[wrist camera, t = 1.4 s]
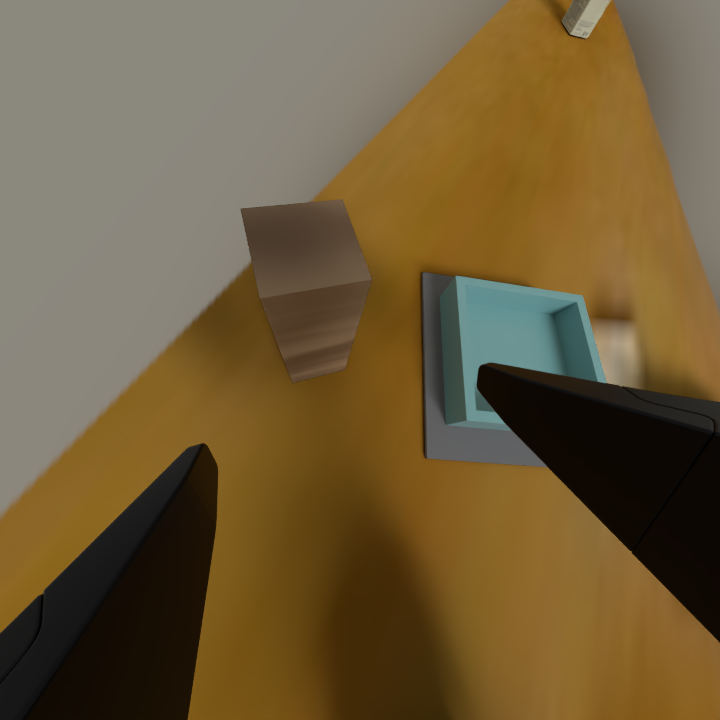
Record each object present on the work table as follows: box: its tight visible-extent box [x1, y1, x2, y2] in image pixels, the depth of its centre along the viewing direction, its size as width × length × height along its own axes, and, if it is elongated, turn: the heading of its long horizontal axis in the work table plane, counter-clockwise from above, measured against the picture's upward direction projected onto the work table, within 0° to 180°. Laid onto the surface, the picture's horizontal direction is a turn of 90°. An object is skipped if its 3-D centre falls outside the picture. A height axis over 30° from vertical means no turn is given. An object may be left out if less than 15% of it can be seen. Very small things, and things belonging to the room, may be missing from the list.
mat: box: [422, 272, 547, 467], centre depth 25 cm, size 18×16×1 cm
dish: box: [440, 276, 606, 431], centre depth 23 cm, size 13×13×3 cm
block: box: [241, 200, 372, 383], centre depth 17 cm, size 4×4×12 cm
